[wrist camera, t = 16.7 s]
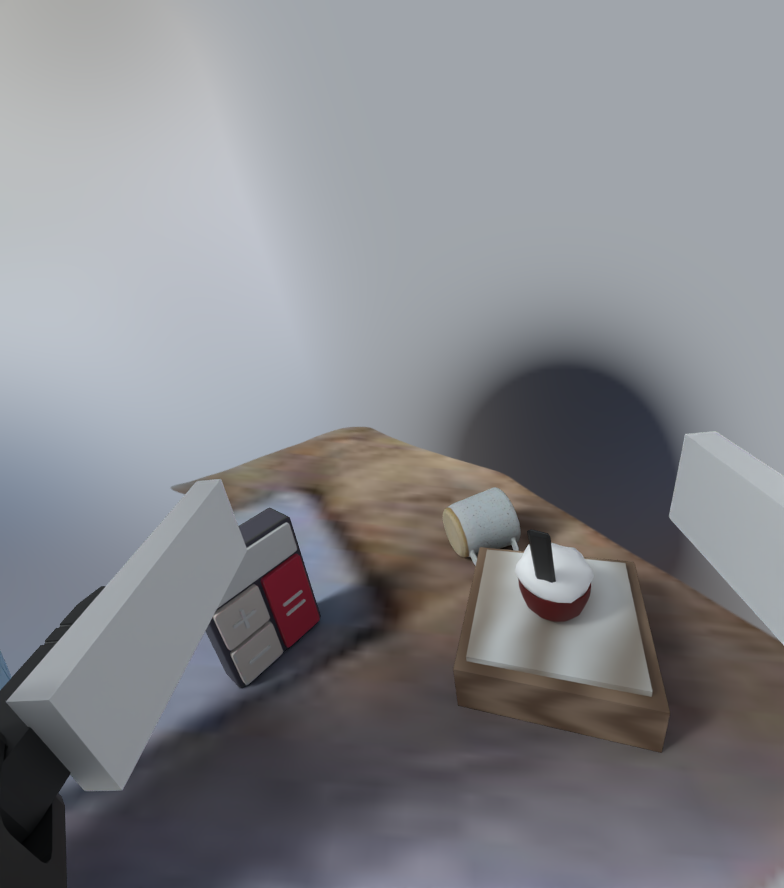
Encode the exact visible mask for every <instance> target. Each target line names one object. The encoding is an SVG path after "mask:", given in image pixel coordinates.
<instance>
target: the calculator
mask: <svg viewBox="0 0 784 888" xmlns="http://www.w3.org/2000/svg"><path fill="white" fill-rule="evenodd" d="M239 529H240V532H241V535H242V537H243V540H244V543H245V545H246V548H247V552H246V554H245V556H244V558H243V560H242V561H241V563H240V565H239V567H238V569H237V571H236V573H235V575H234V577H233V579H232V581H231V583H230V585H229V586H228V588H227V590H226V592H225V594H224V596H223V598H222V600H221V602H220V604H219V606H218V608H217V610H216V611H215V613H214V615H213V617H212V619H211V621H210V623H209V625H208V627H207V629H206V633H207V635H208V637H209V639H210V641H211V643H212V645H213V647H214V649H215V651H216V653H217V655H218V657H219V660H220V662H221V664H222V666H223V668H224V670H225V672H226V673H227V675H228V676H229V677H230V678H231V679H232V680H233V681H234V682H235V683H236V684H237V685H238V687H240V688H243V687H244V686H246V685H248V684H249V683H251V682H252V681H253V680H254V679H255V678H256V677H257V676H258V675H260V674H261V673H262V672H263V671H264V670H265V669H266V668H267V667H268V666H270V665H271V664H272V663H273V662H274V661H275V660H276V659H277V658H278V657H280V656H281V655H282V653H283V651H285V650H286V649H287V648H289V647H291V646H292V645H293V644H294V643H295V642H296V641H297V640H298V639H300V638H301V637H302V636H303V635H304V634H305V633H306V632H307V631H308V630H310V629H311V628H312V627H313V626H314V625H315V624H316V623H317V622H318V621H319V620H320V612H319V609H318V606H317V603H316V600H315V597H314V593H313V590H312V587H311V584H310V581H309V577H308V574H307V571H306V568H305V565H304V561H303V558H302V555H301V552H300V549H299V546H298V542H297V539H296V536H295V533H294V530H293V526H292V523H291V520H290V518H289V517H288V516H286V515H284V514H282V513H280V512H278V511H276V510H274V509H272V508H268V509H266V510H264V511H262V512H261V513H259V514H258V515H256V516H254V517H253V518H251V519H249V520H248V521H246V522H245V523H243V524H241V525H240V526H239Z"/></svg>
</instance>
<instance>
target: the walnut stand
mask: <svg viewBox="0 0 784 888" xmlns="http://www.w3.org/2000/svg"><path fill="white" fill-rule="evenodd" d="M523 553H524V551H515V550H505V549H494V548H484V547H480V548H479V553H478V558H477V562H476V567H475V571H474V576H473V581H472V585H471V590H470V594H469V599H468V603H467V608H466V613H465V617H464V622H463V626H462V631H461V636H460V640H459V645H458V649H457V654H456V658H455V663H454V668H453V672H454V679H455V687H456V694H457V701H458V705H459V706H463V707H467V708H472V709H476V710H480V711H484V712H489V713H493V714H497V715H502V716H506V717H510V718H515V719H519V720H523V721H527V722H532V723H536V724H540V725H545V726H549V727H553V728H558V729H562V730H566V731H570V732H575V733H579V734H583V735H588V736H592V737H596V738H601V739H605V740H609V741H613V742H618V743H622V744H626V745H631V746H635V747H639V748H644V749H648V750H652V751H656V752H661V753H662V749H663V744H664V739H665V735H666V730H667V726H668V721H669V716H670V710H669V706H668V702H667V698H666V693H665V689H664V685H663V681H662V677H661V672H660V668H659V664H658V660H657V656H656V652H655V647H654V643H653V639H652V635H651V631H650V626H649V622H648V618H647V614H646V610H645V605H644V601H643V597H642V593H641V589H640V584H639V580H638V576H637V572H636V568H635V563H634V562H630V561H619V560H609V559H598V558H588V557H584V559H585V560H586V562H587V563H588V565H589V566H590V567H591V569H592V571H593V574H594V578H593V580H592V581H591V593H590V597H589V599H588V602H587V603H586V605H585V607H584V609H583V610H582V612H581V613H580V615H579V616H577V617H574V618H572V619H570V620H568V621H564V622H553V621H549V620H546V619H543V618H541V617H540V616H538V615H537V614H536V613H534V612H533V611H532V610H530V609H529V608H528V606H527V604H526V602H525V600H524V599H523V596H522V594H521V591H520V588H519V581H518V577H517V575H516V574H515V569H516V564H517V563H518V561H519V560H520V559H521V557H522V555H523Z"/></svg>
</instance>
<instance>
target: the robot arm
mask: <svg viewBox="0 0 784 888" xmlns="http://www.w3.org/2000/svg"><path fill="white" fill-rule="evenodd" d="M669 518H670V519H671V520H672V521H673V522H674V524H675V525H676V526H677V527H678V528H679V529H680V530H681V531H682V532H683V534H685V536H686V537H687V538H688V539H689V540H690V541H691V542H692V543H693V545H694V546H695V547H696V548H697V549H698V550H699V551H700V552H701V554H702V555H703V556H704V557H705V558H706V559H707V560H708V561H709V563H710V564H711V565H712V566H713V567H714V568H715V569H716V570H717V571H718V572H719V574H720V575H721V576H722V577H723V578H724V579H725V580H726V581H727V583H728V584H729V585H730V586H731V587H732V588H733V589H734V590H735V591H736V593H737V594H738V595H739V596H740V597H741V598H742V599H743V600H744V602H745V603H746V604H747V605H748V606H749V607H750V608H751V609H752V610H753V612H754V613H755V614H756V615H757V616H758V617H759V618H760V619H761V620H762V622H763V623H764V624H765V625H766V626H767V627H768V628H769V629H770V630H771V631H772V633H773V634H774V635H775V636H776V637H777V638H778V639H779V641H780V642H781V643H782V644H783V645H784V476H783V475H782V474H780V473H778V472H777V471H775V470H774V469H772V468H771V467H769V466H768V465H766V464H765V463H763V462H762V461H760V460H759V459H757V458H756V457H754V456H753V455H751V454H750V453H748V452H747V451H745V450H744V449H742V448H741V447H739V446H738V445H736V444H734V443H733V442H731V441H730V440H728V439H727V438H725V437H724V436H722V435H721V434H719V433H718V432H716V431H712V432H702V433H692V434H685V438H684V443H683V448H682V453H681V458H680V463H679V468H678V473H677V479H676V484H675V489H674V494H673V499H672V504H671V509H670V515H669ZM246 552H247V548H246V545H245V543H244V540H243V537H242V535H241V532H240V529H239V526H238V524H237V521H236V518H235V516H234V513H233V510H232V508H231V505H230V502H229V500H228V497H227V494H226V492H225V489H224V486H223V483H222V481H221V479H216V480H206V481H197V482H196V483H195V484H194V485H193V486H192V487H191V489H190V490H189V491H188V492H187V493H186V494H185V495H184V497H183V498H182V499H181V500H180V501H179V502H178V504H177V505H176V506H175V507H174V508H173V509H172V511H171V512H170V513H169V514H168V515H167V516H166V517H165V519H164V520H163V521H162V522H161V523H160V524H159V526H158V527H157V528H156V529H155V530H154V531H153V532H152V534H151V535H150V536H149V537H148V538H147V539H146V541H145V542H144V543H143V544H142V545H141V546H140V548H139V549H138V550H137V551H136V552H135V553H134V554H133V556H132V557H131V558H130V559H129V560H128V561H127V562H126V564H125V565H124V566H123V567H122V568H121V570H120V571H119V572H118V573H117V574H116V575H115V576H114V577H113V579H112V580H111V581H110V582H109V583H108V584H107V586H102V587H100V588H98V589H97V590H96V591H95V592H93V593H92V594H91V595H89V596H88V597H87V598H85V599H84V600H83V601H81V602H80V603H79V604H78V605H77V606H76V607H75V608H74V609H73V610H72V611H71V612H70V613H69V615H68V616H67V617H66V618H65V619H64V620H63V621H62V622H61V624H60V627H59V628H56V629H55V630H54V631H53V632H52V633H51V635H50V636H49V637H48V638H47V639H46V640H45V644H44V645H41V646H40V647H39V648H38V649H37V650H36V651H35V652H34V653H33V655H32V656H31V657H30V658H29V659H28V660H27V661H26V662H25V663H24V665H23V666H22V667H21V668H20V669H19V670H18V671H17V672H16V673H15V675H14V676H13V677H11V674H10V672H9V670H8V667H7V665H6V663H5V660H4V658H3V655H2V653H1V651H0V888H67V873H66V833H65V805H64V802H63V799H62V796H61V795H60V794H59V791H60V789H61V788H62V786H63V785H64V783H65V781H66V780H67V778H68V777H69V775H71V776H72V777H73V778H74V779H75V781H76V782H77V783H78V784H79V785H80V786H81V787H82V788H83V790H84V791H122V790H123V788H124V786H125V784H126V783H127V781H128V779H129V777H130V775H131V773H132V771H133V769H134V767H135V765H136V763H137V761H138V759H139V758H140V756H141V754H142V752H143V750H144V748H145V746H146V744H147V742H148V740H149V738H150V736H151V734H152V733H153V731H154V729H155V727H156V725H157V723H158V721H159V719H160V717H161V715H162V713H163V711H164V709H165V708H166V706H167V704H168V702H169V700H170V698H171V696H172V694H173V692H174V690H175V688H176V686H177V684H178V683H179V681H180V679H181V677H182V675H183V673H184V671H185V669H186V667H187V665H188V663H189V661H190V659H191V658H192V656H193V654H194V652H195V650H196V648H197V646H198V644H199V642H200V640H201V638H202V636H203V634H204V633H205V631H206V629H207V627H208V625H209V623H210V621H211V619H212V617H213V615H214V613H215V611H216V610H217V608H218V606H219V604H220V602H221V600H222V598H223V596H224V594H225V592H226V590H227V588H228V586H229V585H230V583H231V581H232V579H233V577H234V575H235V573H236V571H237V569H238V567H239V565H240V563H241V561H242V560H243V558H244V556H245V554H246Z"/></svg>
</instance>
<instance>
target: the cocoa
mask: <svg viewBox="0 0 784 888" xmlns="http://www.w3.org/2000/svg"><path fill="white" fill-rule="evenodd" d="M527 534H528V539H529V545H528V546H527V548H526V549H525V551H524V553H523V555H522V557H521V559H520V560H519V561H518V563H517V564H516V569H515V574H516V575H517V577H518V581H519V588H520V591H521V594H522V596H523V599H524V600H525V602H526V604H527V606H528V608H529V609H530V610H532V611H533V612H534V613H536V614H537V615H538V616H540V617H541V618H543V619H546V620H549V621H553V622H564V621H568V620H570V619H572V618H574V617H577V616H579V615H580V613H581V612H582V610H583V609H584V607H585V605H586V603H587V602H588V599H589V597H590V593H591V581H592V580H593V578H594V574H593V571H592V569H591V567H590V566H589V565H588V563H587V562H586V560H585V559H584V557H583V556H582V554H581V553H580V552H579V551H577V550H576V549H575V548H571V547H564V546H560V545H557V544H554V543H551V538H550V536H549V534H548V533H544V532H540V531H536V530H532V529H531V530H529V531H527Z"/></svg>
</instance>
